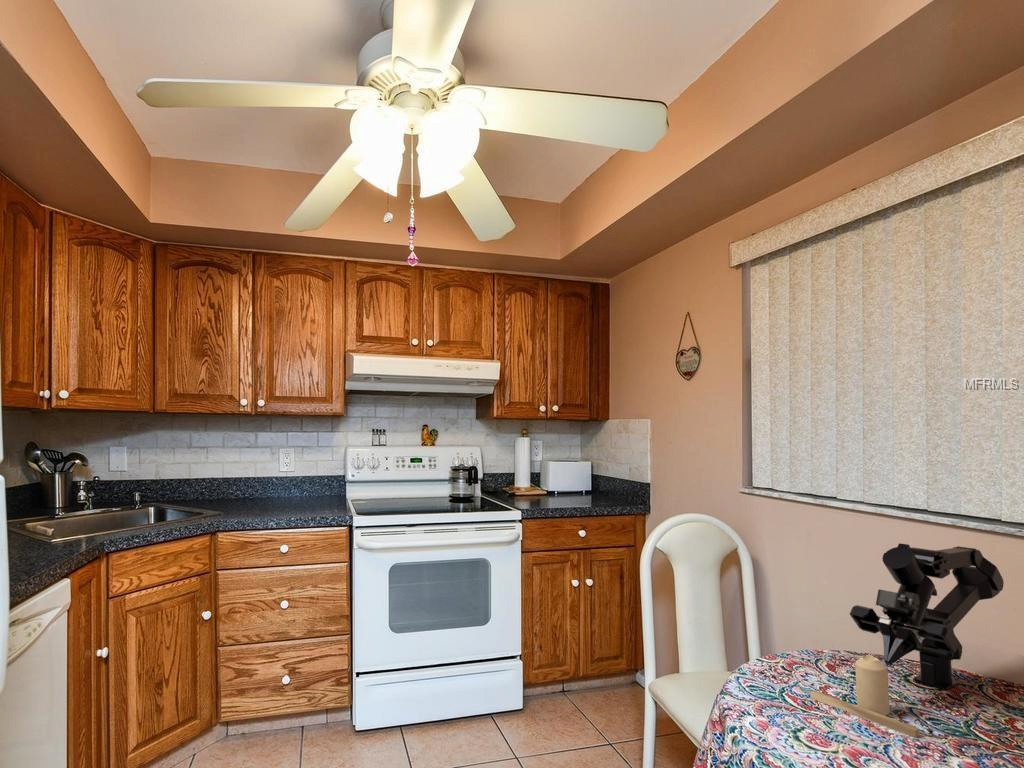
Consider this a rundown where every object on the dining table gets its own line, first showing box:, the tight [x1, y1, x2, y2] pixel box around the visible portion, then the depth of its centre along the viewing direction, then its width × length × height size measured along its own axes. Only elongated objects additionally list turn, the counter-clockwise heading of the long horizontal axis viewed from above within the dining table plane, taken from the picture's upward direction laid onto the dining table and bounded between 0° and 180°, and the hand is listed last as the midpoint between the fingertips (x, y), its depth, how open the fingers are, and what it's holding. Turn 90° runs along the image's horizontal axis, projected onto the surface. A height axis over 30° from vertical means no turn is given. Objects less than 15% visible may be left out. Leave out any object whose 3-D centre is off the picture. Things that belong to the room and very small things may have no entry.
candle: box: [854, 654, 891, 717], centre depth 122 cm, size 6×6×10 cm
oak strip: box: [809, 690, 921, 738], centre depth 120 cm, size 1×20×1 cm, turn 32°
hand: (887, 663), depth 126 cm, fingers closed
